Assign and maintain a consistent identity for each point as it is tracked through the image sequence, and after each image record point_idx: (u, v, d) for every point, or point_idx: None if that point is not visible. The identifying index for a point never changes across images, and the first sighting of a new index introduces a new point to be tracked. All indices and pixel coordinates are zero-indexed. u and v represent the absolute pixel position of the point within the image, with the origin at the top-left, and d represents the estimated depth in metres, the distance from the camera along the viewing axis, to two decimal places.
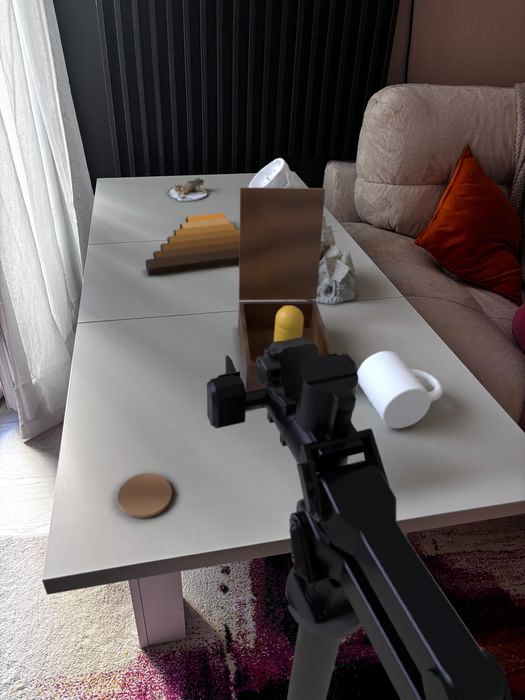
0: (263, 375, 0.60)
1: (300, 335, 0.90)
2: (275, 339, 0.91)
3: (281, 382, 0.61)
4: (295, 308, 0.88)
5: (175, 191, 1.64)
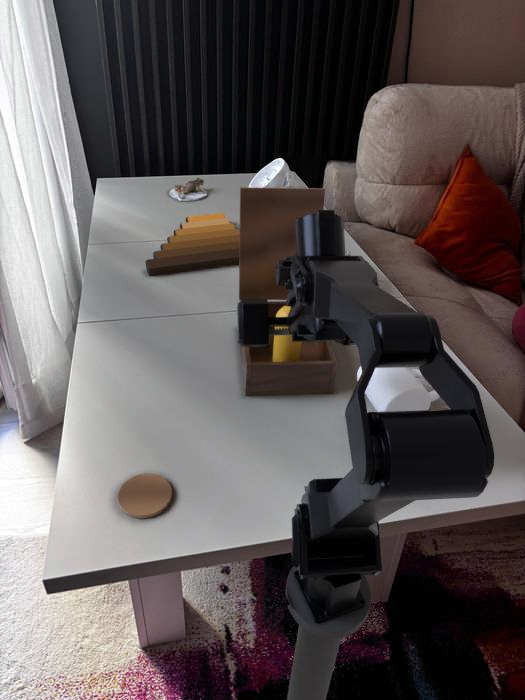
0: (277, 270, 0.71)
1: None
2: (275, 339, 0.91)
3: None
4: None
5: (175, 191, 1.64)
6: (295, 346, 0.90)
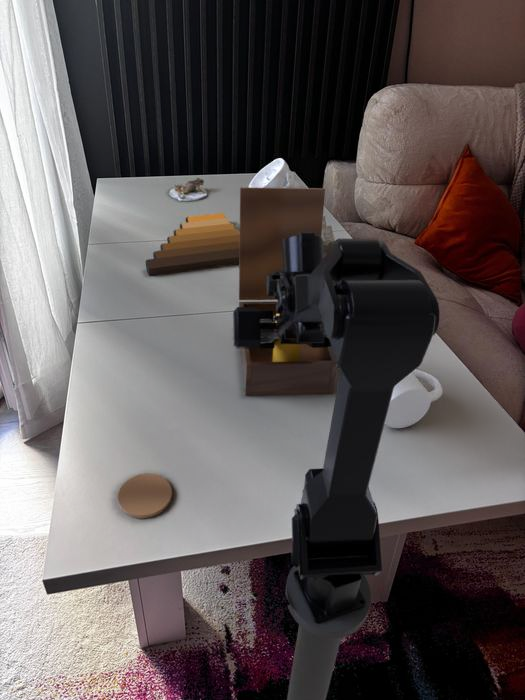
0: (268, 282, 0.82)
1: None
2: (275, 339, 0.91)
3: None
4: None
5: (175, 191, 1.64)
6: (295, 346, 0.90)
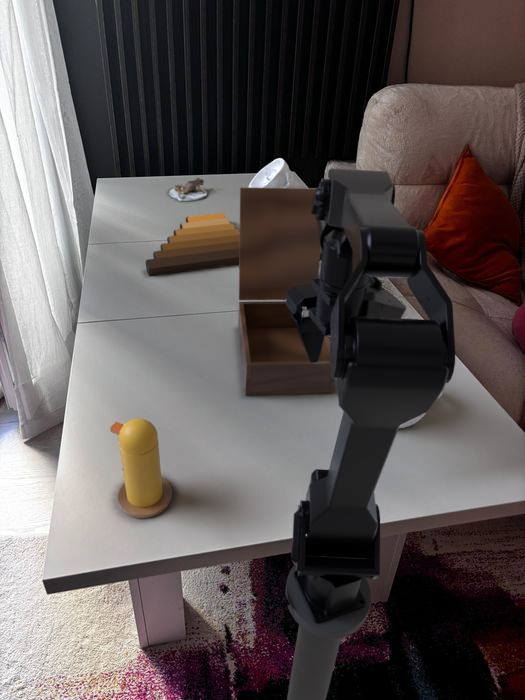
0: None
1: None
2: (133, 470, 0.67)
3: (367, 286, 0.70)
4: (141, 420, 0.66)
5: (175, 191, 1.64)
6: (159, 461, 0.69)
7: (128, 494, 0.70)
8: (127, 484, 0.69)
